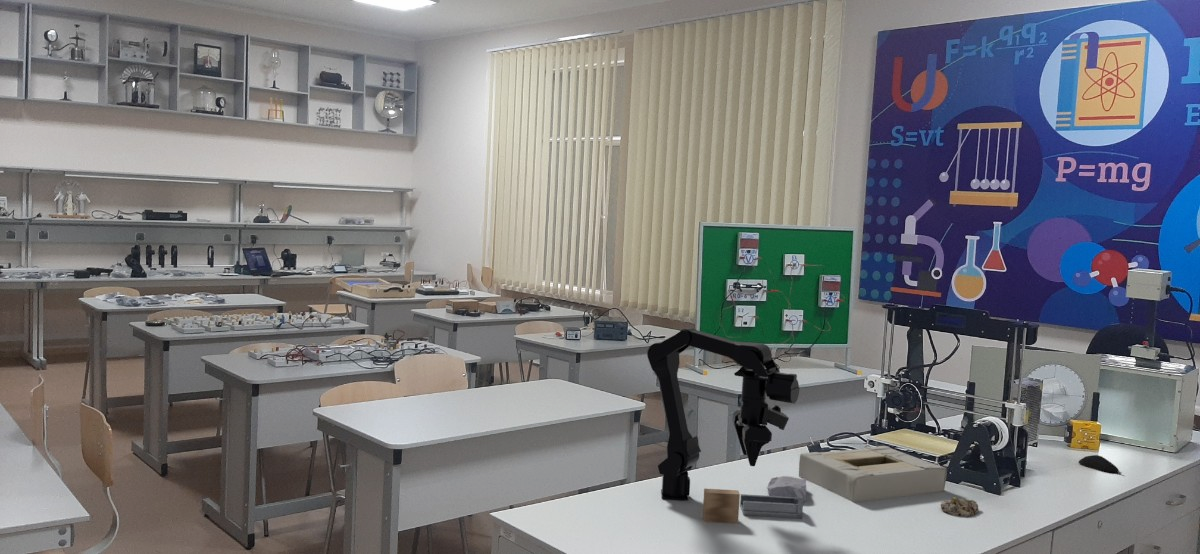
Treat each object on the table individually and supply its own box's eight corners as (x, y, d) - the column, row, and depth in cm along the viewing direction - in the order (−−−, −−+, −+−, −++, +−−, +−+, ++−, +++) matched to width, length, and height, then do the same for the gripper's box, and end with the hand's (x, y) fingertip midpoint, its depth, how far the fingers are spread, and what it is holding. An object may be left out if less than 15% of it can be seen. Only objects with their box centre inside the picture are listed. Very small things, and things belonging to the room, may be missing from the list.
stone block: (769, 507, 223) (809, 503, 221) (766, 488, 223) (806, 484, 221) (769, 494, 234) (807, 490, 232) (766, 476, 234) (804, 472, 232)
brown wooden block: (703, 521, 204) (705, 492, 204) (702, 517, 207) (704, 488, 207) (738, 523, 204) (739, 494, 203) (736, 519, 207) (738, 490, 206)
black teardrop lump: (1118, 478, 258) (1119, 465, 258) (1073, 464, 272) (1074, 451, 271) (1132, 476, 260) (1134, 463, 260) (1088, 462, 274) (1089, 450, 274)
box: (854, 505, 223) (946, 492, 236) (855, 475, 222) (947, 464, 236) (796, 480, 244) (884, 469, 257) (797, 452, 243) (885, 443, 257)
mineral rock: (957, 510, 214) (936, 492, 221) (952, 525, 215) (930, 506, 222) (991, 508, 218) (968, 490, 225) (985, 523, 219) (963, 505, 226)
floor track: (743, 515, 210) (744, 494, 209) (739, 505, 217) (740, 485, 216) (802, 518, 209) (803, 497, 209) (796, 508, 216) (797, 488, 216)
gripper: (796, 407, 200) (791, 474, 201) (778, 390, 218) (774, 451, 220) (747, 404, 200) (742, 471, 201) (734, 387, 218) (729, 448, 220)
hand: (748, 460), depth 210 cm, fingers open, 9 cm apart
